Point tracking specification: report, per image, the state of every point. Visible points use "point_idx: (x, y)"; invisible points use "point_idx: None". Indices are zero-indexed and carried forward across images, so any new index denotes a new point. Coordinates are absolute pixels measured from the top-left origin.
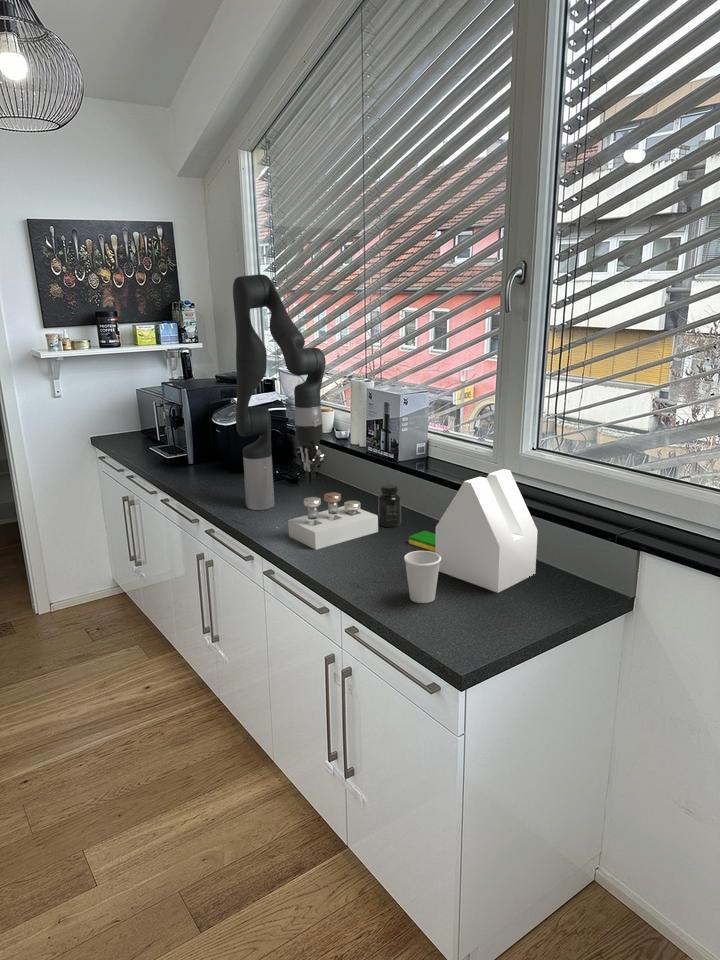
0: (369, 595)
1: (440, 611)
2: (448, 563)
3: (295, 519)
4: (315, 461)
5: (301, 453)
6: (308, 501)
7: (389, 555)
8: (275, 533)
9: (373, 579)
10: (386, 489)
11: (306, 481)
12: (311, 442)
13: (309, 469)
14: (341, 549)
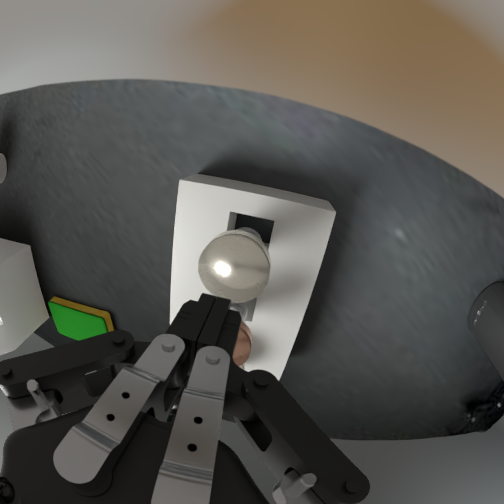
0: (25, 118)
1: None
2: (8, 248)
3: (319, 229)
4: (45, 361)
5: (208, 464)
6: (223, 243)
7: (84, 250)
8: (373, 196)
9: (43, 156)
10: (168, 420)
11: (228, 303)
12: (16, 498)
13: (155, 343)
14: (156, 215)
